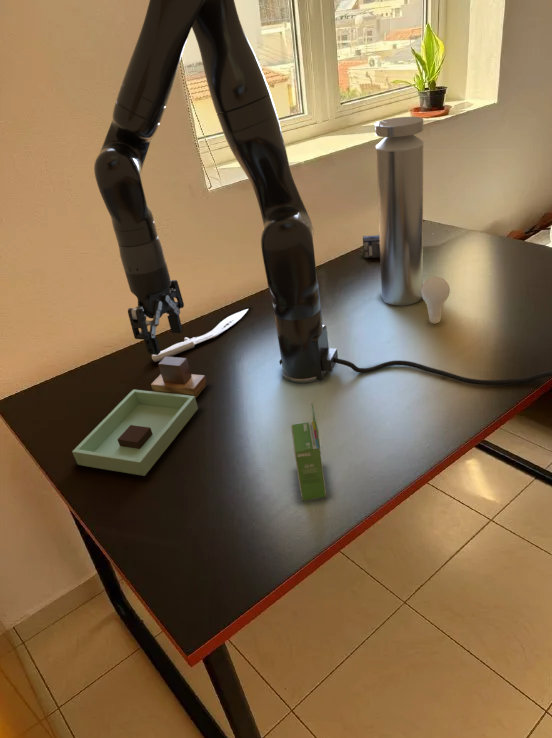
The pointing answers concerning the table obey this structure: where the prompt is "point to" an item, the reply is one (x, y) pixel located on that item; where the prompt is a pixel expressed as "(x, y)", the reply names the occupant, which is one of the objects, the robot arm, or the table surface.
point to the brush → (178, 378)
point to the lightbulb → (435, 296)
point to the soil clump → (135, 436)
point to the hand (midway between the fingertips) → (166, 342)
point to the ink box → (308, 459)
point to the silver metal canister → (400, 209)
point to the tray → (139, 410)
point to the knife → (191, 342)
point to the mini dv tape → (371, 246)
